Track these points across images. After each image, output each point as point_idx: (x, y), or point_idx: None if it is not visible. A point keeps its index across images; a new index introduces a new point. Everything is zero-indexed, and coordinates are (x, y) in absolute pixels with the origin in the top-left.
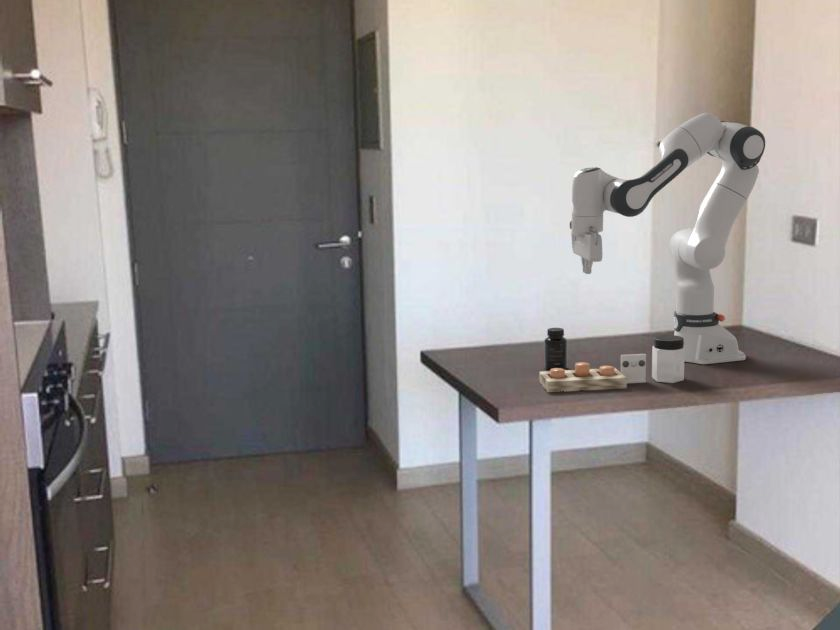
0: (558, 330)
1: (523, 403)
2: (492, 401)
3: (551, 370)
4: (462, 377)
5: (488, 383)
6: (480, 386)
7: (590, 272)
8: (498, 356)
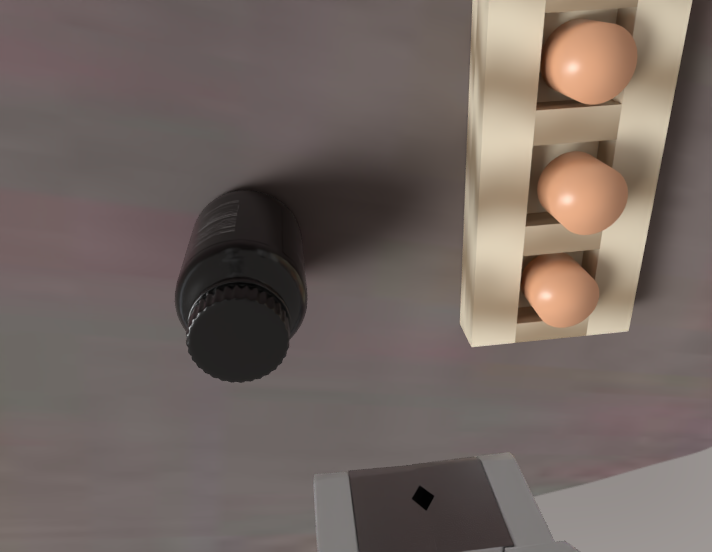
0: (273, 330)
1: (700, 388)
2: (644, 463)
3: (570, 324)
4: None
5: None
6: None
7: (515, 471)
8: (21, 437)
